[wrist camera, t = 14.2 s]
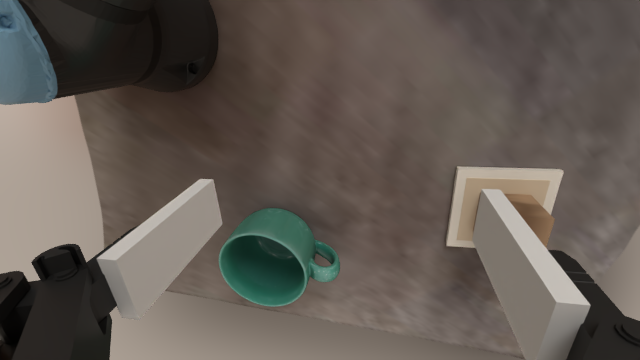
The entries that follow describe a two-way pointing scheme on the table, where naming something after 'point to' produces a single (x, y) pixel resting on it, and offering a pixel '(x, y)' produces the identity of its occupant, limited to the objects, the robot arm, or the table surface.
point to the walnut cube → (531, 215)
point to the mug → (274, 258)
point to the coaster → (505, 179)
